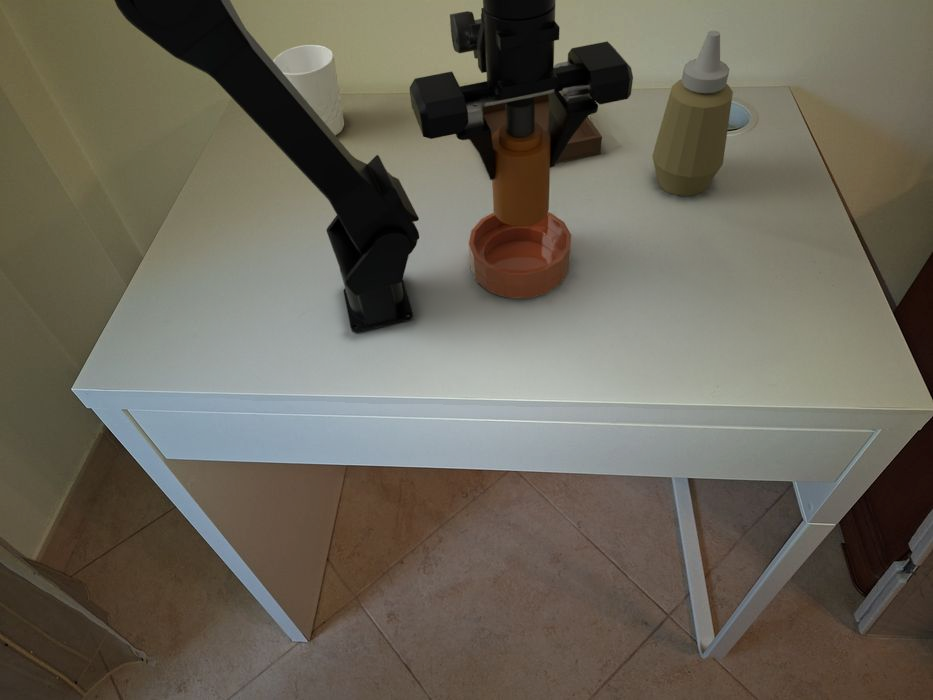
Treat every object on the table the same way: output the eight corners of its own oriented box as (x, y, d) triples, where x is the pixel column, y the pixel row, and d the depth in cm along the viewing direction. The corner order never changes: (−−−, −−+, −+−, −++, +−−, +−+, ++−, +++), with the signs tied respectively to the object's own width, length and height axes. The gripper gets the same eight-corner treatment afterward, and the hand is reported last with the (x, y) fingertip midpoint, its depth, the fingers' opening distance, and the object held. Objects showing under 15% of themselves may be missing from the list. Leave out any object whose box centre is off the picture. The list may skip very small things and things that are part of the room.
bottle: (556, 219, 67) (560, 109, 58) (502, 231, 67) (498, 122, 58) (538, 187, 71) (540, 78, 62) (487, 198, 70) (481, 90, 61)
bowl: (583, 288, 71) (585, 260, 68) (486, 311, 70) (484, 283, 67) (550, 227, 78) (551, 198, 75) (461, 246, 77) (458, 218, 74)
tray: (600, 153, 87) (602, 136, 85) (494, 176, 85) (493, 159, 83) (563, 99, 96) (563, 82, 94) (466, 118, 94) (464, 102, 92)
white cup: (339, 145, 92) (323, 74, 84) (285, 143, 93) (263, 73, 85) (354, 113, 97) (340, 44, 89) (302, 112, 98) (284, 44, 90)
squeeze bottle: (666, 209, 79) (696, 59, 65) (636, 170, 84) (658, 23, 70) (729, 194, 80) (772, 43, 66) (696, 157, 85) (730, 9, 71)
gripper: (593, -52, 60) (583, 110, 72) (386, -15, 58) (410, 145, 70) (646, -1, 52) (624, 169, 64) (411, 43, 51) (433, 210, 62)
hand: (520, 171), depth 65 cm, fingers closed on bottle, 5 cm apart
